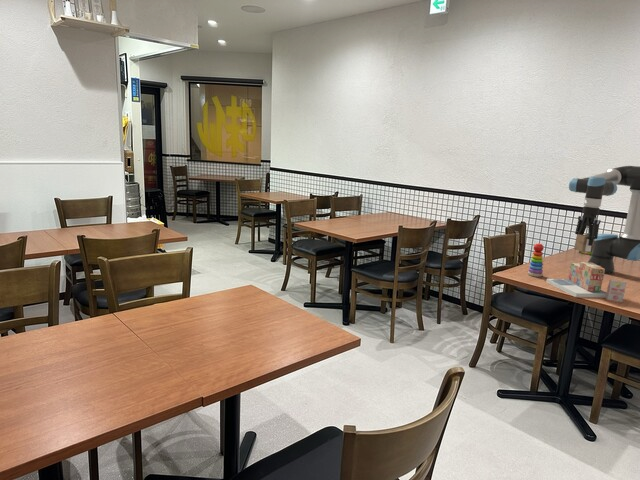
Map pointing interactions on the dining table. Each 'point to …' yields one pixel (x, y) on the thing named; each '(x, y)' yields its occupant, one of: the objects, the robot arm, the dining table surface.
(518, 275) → the dining table surface
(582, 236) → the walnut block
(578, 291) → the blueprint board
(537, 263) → the stacking toy
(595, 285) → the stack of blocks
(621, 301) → the white red printed box
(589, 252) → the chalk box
